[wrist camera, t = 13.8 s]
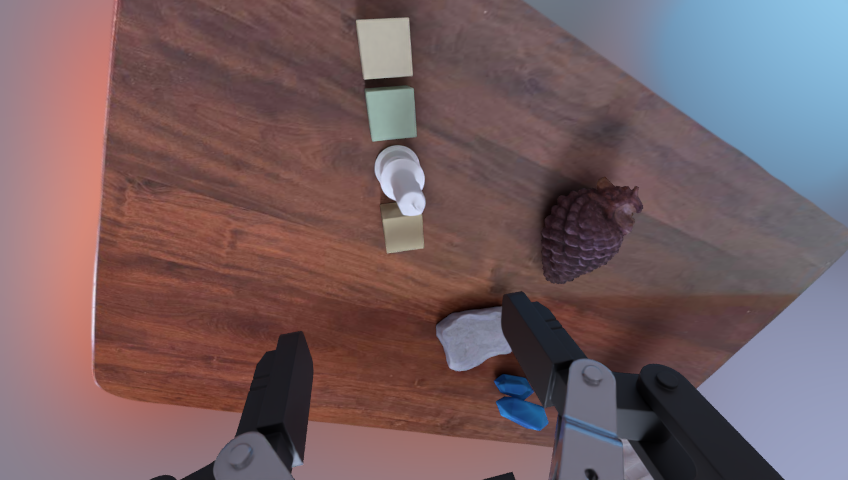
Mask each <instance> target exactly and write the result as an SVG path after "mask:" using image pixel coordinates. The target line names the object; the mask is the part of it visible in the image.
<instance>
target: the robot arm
mask: <svg viewBox="0 0 848 480" xmlns="http://www.w3.org/2000/svg"><path fill="white" fill-rule="evenodd" d="M501 328H502V332H503V335H504V337H505V339H506V341H507V342H508V344H509V346H510V348H511V350H512V351H513V353H514V355H515V357H516V359H517V360H518V362H519V364H520V366H521V368H522V369H523V371H524V373H525V375H526V377H527V378H528V380H529V382H530V384H531V386H532V387H533V389H534V391H535V393H536V394H537V396H538V398H539V400H540V402H541V403H542V405H543V407H544V408H547V407H551V406H555V408H556V409H557V411H558V417H557V424H556V432H555V439H554V447H553V454H552V462H551V468H550V474H549V479H548V480H625V479H624V452H623V443H622V440H621V439H627V440H628V442H629V443H630V445H631V446H632V448H633V449H634V451H635V452H636V454H637V455H638V457H639V458H640V460H641V461H642V463H643V464H644V466H645V467H646V469H647V470H648V472H649V473H650V475H651V476H652V478H653V479H654V480H784V479H783V478H782V477H781V476H780V475H779V473H778V472H777V471H776V470H775V469H774V468H773V467H772V466H771V465H770V464H769V463H768V462H767V461H766V460H765V459H764V458H763V457H762V456H761V455H760V454H759V453H758V452H757V451H756V450H755V449H754V448H753V447H752V446H751V445H750V444H749V443H748V442H747V441H746V440H745V439H744V438H743V437H742V436H741V435H740V433H738V431H736V429H735V428H734V427H733V426H732V425H731V424H730V423H729V422H728V421H727V420H726V419H725V418H724V417H723V416H722V415H721V414H720V413H719V412H718V411H717V410H716V409H715V408H714V407H713V406H712V405H711V404H710V403H709V402H708V401H707V400H706V399H705V398H704V397H703V396H702V395H701V394H700V392H699V391H698V390H697V389H696V388H695V387H694V386H693V385H692V384H691V383H690V382H689V381H688V380H687V379H686V378H685V377H684V376H683V375H681V374H680V373H679V372H677V371H675V370H674V369H672V368H669V367H667V366H664V365H660V364H649V365H646V366H644V367H643V368H642V369H641V372H640V374H630V373H618V372H612V371H610V370H609V369H608V368H607V367H606V366H605V365H603V364H601V363H600V362H597V361H595V360H592V359H588V358H587V357H586V355H585V354H584V353H583V352H582V350H581V349H580V348H579V347H578V345H577V344H576V343H575V342H574V340H573V339H572V338H571V337H570V335H569V334H568V333H567V332H566V330H565V329H564V328H562V325H561V324H560V323H559V321H558V320H556V318H555V316H554V315H553V314H552V313H551V311H550V310H549V309H548V308H546V307H545V306H543V305H542V304H540V303H539V302H537V301H536V302H531V301H530V300H529V299H528V297H527V296H526V295H525V293H524V292H522V291H520V292H515V293H509V294H504V295H503V300H502V313H501ZM312 382H313V361H312V357H311V354H310V351H309V348H308V345H307V342H306V339H305V336H304V334H303V332H302V331H298V332H292V333H287V334H281V335H280V337H279V340H278V344H277V348H276V350H273V351H268V352H266V353H265V355H264V356H263V357H262V359H261V360H260V361H259V363H258V364H257V366H256V370H255V373H254V376H253V380H252V383H251V386H250V391H249V393H248V396H247V400H246V403H245V406H244V409H243V413H242V416H241V420H240V423H239V426H238V429H237V433H236V435H235V438H234V439H232V440H231V441H230V442H229V443H227V444H226V446H225V447H224V448H223V449H222V450H221V452H220V453H219V455H218V456H217V458H216V460H215V461H213V462H212V463H211V464H209V465H207V466H205V467H204V468H202V469H200V470H198V471H196V472H194V473H192V474H190V475H189V476H186V477H185V478H183V479H181V480H295V479H294V478H293V477H292V475H291V471H292V467H296V466H299V465H303V460H304V451H305V442H306V434H307V425H308V416H309V408H310V399H311V390H312ZM618 438H619V439H618ZM151 480H176V479H175V478H174V477H173V476H170V475H162V476H158V477H155V478H152V479H151ZM484 480H515V477H514V475H513V472H510V473H506V474H503V475H499V476H495V477H491V478H487V479H484Z"/></svg>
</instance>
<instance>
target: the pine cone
mask: <svg viewBox="0 0 848 480" xmlns="http://www.w3.org/2000/svg"><path fill="white" fill-rule="evenodd" d="M638 190H639V187H637V186H635V187H634V189H633V190H631V189H630V188H629V187H628V186H624V187H620V186H616V187H615V186H614V185H613V184H612V183H611V182H610V181H609V180H608V179H607V178H606V177H602V178H600V179H599V180H598V182H597V190H596V189H595V188H592V189H589V190H586V189H580V190H579V191H578V192H575V191H571V192H570V193H569V195H568V196H564V195H560V196H559V197H558V200H557V201H558V205H554V206H553V207H552V209H551V210H552V211H551V213H552V214H551V215H549V216H547V217H546V218H545V227H544V228H543V229H542V231H541V233H542V235H543V236H544V237H543V239H542V240H541V241H542V245H543V248H542V256H543V257H542V264H543V270H544V273H543V274H544V276H545V277H546V280H547V281H550V282H551V283H557V284H564V283H566V281H573V280H574V278H577V277H579V276H580V275H582V274H586V273H587V272H592V271H593V270H594V269H597V268H598V267H600V266H601V265H606V264H607V262H608V261H609V260H611V259H612V257H614V255H615V254H616V253H618V251H619V248H620V246H621V244H622V241H623V236H624V235H626V234H628V233H629V232H631V231H632V228H633V225H634V224H635V220H634V219H633V218H632V216H633V212H636V213H640V212H641V211H642V209H643V205H642V202H641V201H640V199H639V197H638Z"/></svg>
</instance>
